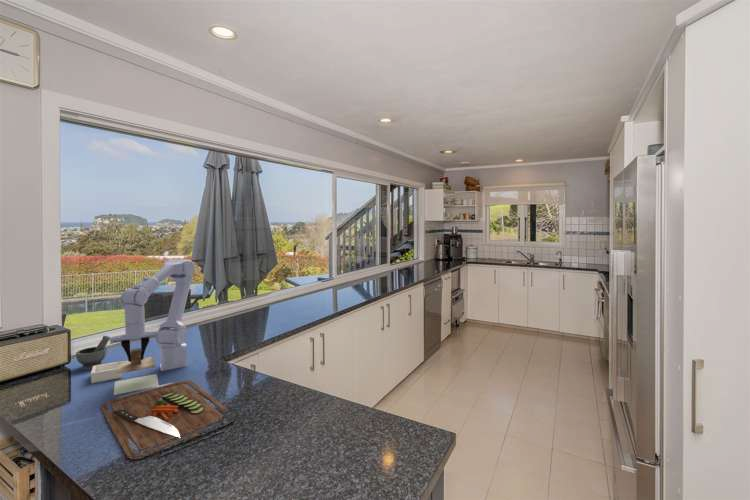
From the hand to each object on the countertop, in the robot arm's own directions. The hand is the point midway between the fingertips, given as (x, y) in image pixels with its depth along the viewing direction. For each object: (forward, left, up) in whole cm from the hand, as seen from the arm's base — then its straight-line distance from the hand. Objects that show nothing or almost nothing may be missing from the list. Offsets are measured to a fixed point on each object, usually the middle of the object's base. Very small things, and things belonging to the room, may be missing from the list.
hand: (136, 359), depth 128 cm
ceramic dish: (+9, -14, -9) cm, 19 cm away
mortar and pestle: (+14, -31, -9) cm, 35 cm away
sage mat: (0, 0, -9) cm, 9 cm away
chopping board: (-7, +30, -10) cm, 32 cm away
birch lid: (0, 0, -2) cm, 2 cm away
